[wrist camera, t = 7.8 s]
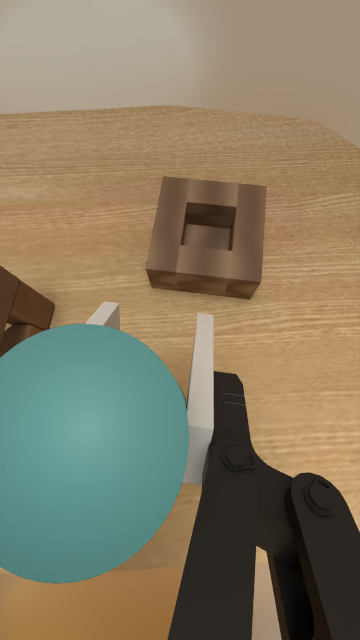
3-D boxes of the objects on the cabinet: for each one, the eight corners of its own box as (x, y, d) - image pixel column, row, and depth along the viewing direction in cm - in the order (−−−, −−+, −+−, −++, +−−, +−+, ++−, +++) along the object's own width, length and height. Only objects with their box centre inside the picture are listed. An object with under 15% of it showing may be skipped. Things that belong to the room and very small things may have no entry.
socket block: (151, 287, 32) (145, 268, 28) (166, 205, 36) (163, 176, 31) (249, 299, 32) (261, 281, 27) (255, 214, 35) (266, 186, 30)
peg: (114, 436, 16) (-88, 558, 4) (127, 368, 17) (-4, 311, 5) (181, 446, 15) (170, 607, 4) (189, 377, 16) (201, 338, 5)
